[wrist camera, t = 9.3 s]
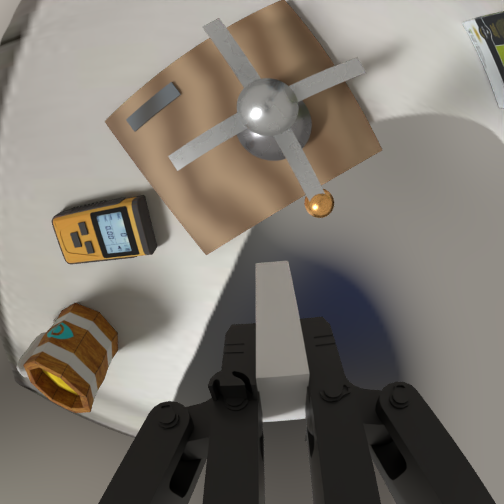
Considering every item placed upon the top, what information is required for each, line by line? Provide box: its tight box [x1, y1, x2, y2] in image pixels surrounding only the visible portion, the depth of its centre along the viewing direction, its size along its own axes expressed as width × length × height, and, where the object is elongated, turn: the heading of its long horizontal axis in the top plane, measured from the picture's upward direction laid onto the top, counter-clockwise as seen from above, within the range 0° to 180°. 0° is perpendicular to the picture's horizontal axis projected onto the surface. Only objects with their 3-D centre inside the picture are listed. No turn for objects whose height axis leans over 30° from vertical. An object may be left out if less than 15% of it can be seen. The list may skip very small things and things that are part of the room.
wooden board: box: [105, 0, 382, 255], centre depth 30 cm, size 26×22×2 cm
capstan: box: [168, 18, 366, 218], centre depth 25 cm, size 21×19×8 cm
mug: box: [17, 303, 118, 413], centre depth 39 cm, size 20×14×15 cm
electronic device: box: [52, 196, 157, 264], centre depth 35 cm, size 8×16×3 cm, turn 96°
